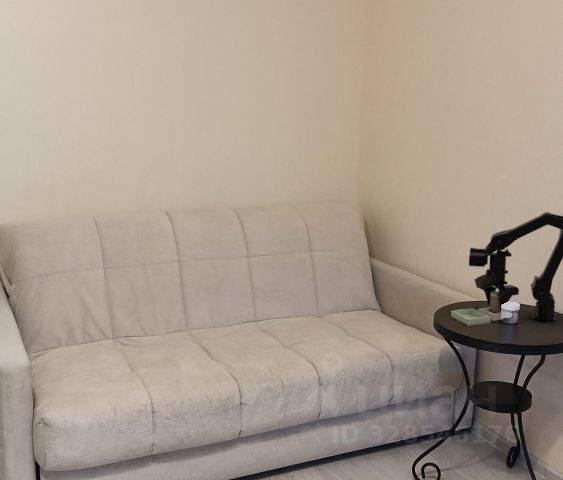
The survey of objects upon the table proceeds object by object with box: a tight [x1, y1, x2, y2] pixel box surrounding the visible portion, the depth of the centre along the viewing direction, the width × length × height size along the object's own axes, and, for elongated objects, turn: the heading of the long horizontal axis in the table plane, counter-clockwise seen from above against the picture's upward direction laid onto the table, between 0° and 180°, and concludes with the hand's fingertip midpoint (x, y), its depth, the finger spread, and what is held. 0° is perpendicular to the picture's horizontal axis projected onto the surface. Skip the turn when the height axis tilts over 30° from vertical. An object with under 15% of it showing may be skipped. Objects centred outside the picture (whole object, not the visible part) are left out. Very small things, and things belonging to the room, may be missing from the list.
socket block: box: [477, 306, 502, 322], centre depth 255 cm, size 9×9×2 cm
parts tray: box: [450, 307, 491, 327], centre depth 251 cm, size 11×9×2 cm
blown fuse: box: [489, 290, 501, 313], centre depth 255 cm, size 4×4×9 cm
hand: (495, 308), depth 255 cm, fingers open, 7 cm apart
